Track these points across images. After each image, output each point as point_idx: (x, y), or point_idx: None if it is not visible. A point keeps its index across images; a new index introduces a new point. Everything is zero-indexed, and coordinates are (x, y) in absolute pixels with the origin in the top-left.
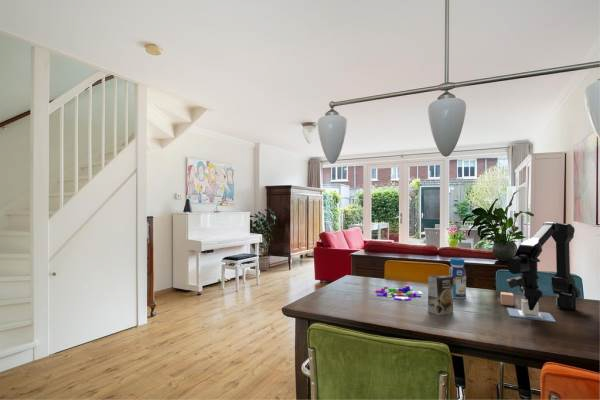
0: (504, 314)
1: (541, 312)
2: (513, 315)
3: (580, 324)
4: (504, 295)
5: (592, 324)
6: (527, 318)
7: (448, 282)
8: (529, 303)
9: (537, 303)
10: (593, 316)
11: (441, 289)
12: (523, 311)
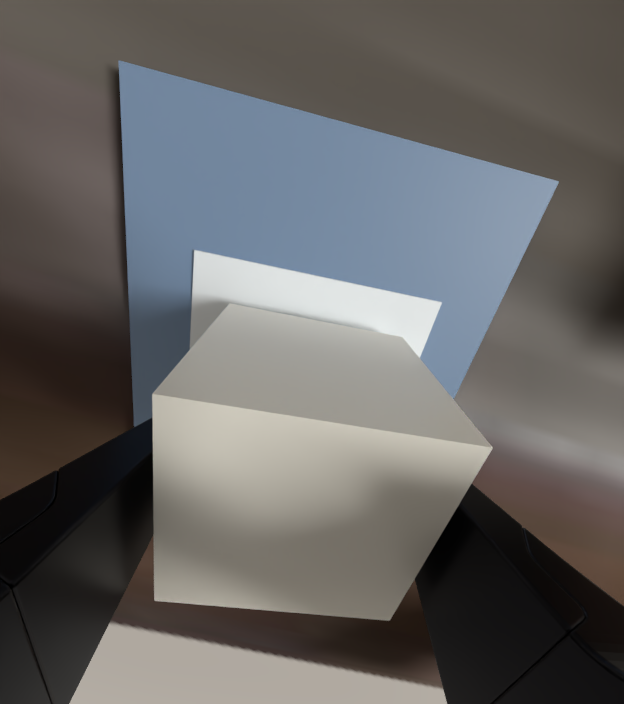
0: (223, 2)
1: None
2: (140, 133)
3: None
4: None
5: (219, 639)
6: (133, 306)
7: None
8: (75, 477)
9: (159, 586)
10: (387, 675)
11: None
12: (225, 315)
